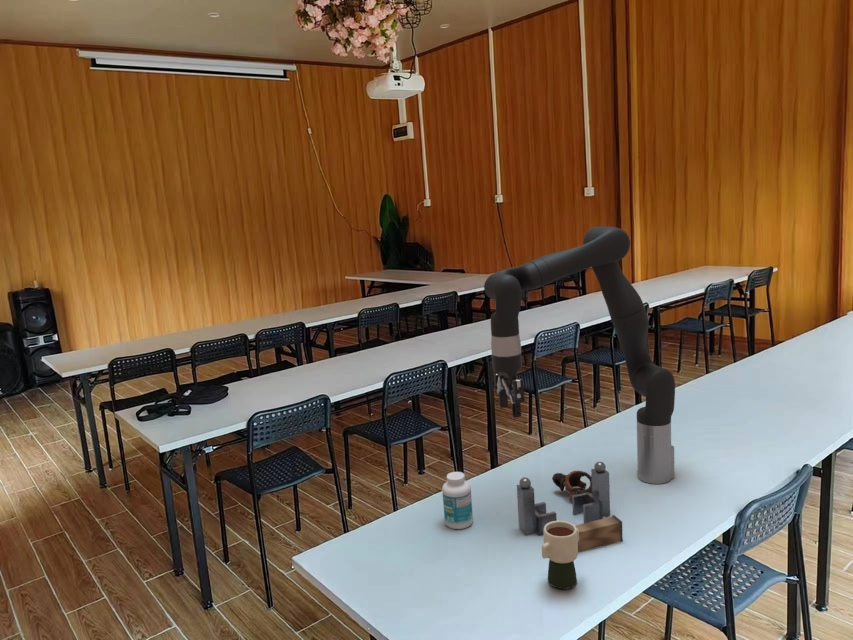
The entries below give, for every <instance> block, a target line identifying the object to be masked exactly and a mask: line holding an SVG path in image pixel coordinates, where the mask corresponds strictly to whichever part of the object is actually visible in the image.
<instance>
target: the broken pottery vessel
mask: <svg viewBox="0 0 853 640" xmlns="http://www.w3.org/2000/svg"><path fill="white" fill-rule="evenodd" d="M583 477H585V478H587V479H588V480H589V483H590V485H589V487H588V488H586V487H587V483H586V482H584V481H582V480H581V479H582V478H583ZM551 479H552V482H553V484H554V485H555V486H556V487H558V488H559V490H560V491H561V493H562V492H564V490H565V491H567V493H568V494H569V495H570V496H569V499H568V500H569V502H570V503H572V496H573V495H577V494H582V493H586V492H590V493H591V494H592V476H591V475H590V474H589V473H588V472H586V471H584V470H583V471H582V470H573V471H571V472H569V473H568V474H563V473H561V472H556V473H554V474H553V476H552V478H551ZM573 488H580V489H583V490H580V489H576V491H574V490H573Z"/></svg>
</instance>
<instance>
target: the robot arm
mask: <svg viewBox="0 0 853 640" xmlns="http://www.w3.org/2000/svg"><path fill="white" fill-rule="evenodd" d="M582 242H583V243H582V244H581V245H579V246H576V247H573V248H570V249H569V248H568V249H565V250H564V249H563V250H561V251H557V252H551V253H549V254H548V253H547V254H546V255H543V256H540V257H538V258H535V259H532V260H530V261H528V262H525V263H523V264H521V265H517V266H513V267H509V268H505V269H501V270H497V271H496V272H494V273H492V274H491V275H489V276H488V277H487V278H486V280H485V282H484V285H483V289H484V293H485V295H486V296H487V297H488V298H490V299H491V300H493V301H495V311H494V312H492V313H491V315H490V333H491V340H490V341H491V342H490V346H491V347H490V349H491V363H492V364H491V365H492V370H493V388H494V390H496V393H497V394H498V405H499V407H500V408H501V409H505V408H507V407H509V401H508V400H509V399H510V403H511V416H512V418H514V419H515V418H517V419H518V418H521V417H522V406H521V405H522V404H521V403H525V400H526V399H525V387H524V380H523V378H518V377H519V376H517V375H518V374H517V373H518V372H519V371H521V370H522V368H523V360H522V359H523V357H522V343H521V338H520V336H521V335H520V325H519V324H520V323H519V315H520V309H521V302H522V297H523V296H522V292H523V291H532V290H536V289H538V288H542V287H544V286H546V285H549V284H551V283H553V282H556V281H557V280H560V279H563V278H565V277H568V276H571V275H573V274H576V273H579V272H581V271H584V270H588V269H590V268H592V270H593V273H594V275H595V278H596V279H597V282H598V284H599V287H600V290H601V293H602V296H603V298H604V301H605V304H606V307H607V311H608V313H609V317H610V320H611V323H612V325H613V328H614V331H615V333H616V335H617V338H618V342H619V345H620V348H621V349H622V353H623V355H624V361H625V366H626V369H627V374H628V379H629V382H630V384H631V387H632V388H633V390H634V391H635V392H636V393H638V394H640V395H642V396H644V397H645V406H642V407H639V408H638V410H637V411H636V444H637V445H636V448H637V449H636V450H637V451H636V455H637V459H636V461H637V465H636V466H637V469H636V470H637V478H638V479H639V480H640V481H641V482H644V483H648V484H652V485H654V484H655V485H661V484H666V483H668V482H671V480H672V479H675V477H676V476H675V446H674V445H673V444H672V415H673V413H674V411H675V403H676V402H675V400H676V397H675V396H676V382H675V381H676V380H675V377H674V374H673V373H672V371H670V370H669V369H667V368H666V367H662V366H659V365H656V364H655V363H654V362H653V360H652V358H651V354H650V353H649V349H648V347H647V340H648V339H647V338H648V332H649V327H650V326H649V324H650V322H649V318H648V314H647V312H646V308H645V305H644V302H643V300H642V298H641V295H640V294H639V293H638V291H637V290H636V288H635V287H634V286H633V285H632V283H631V282H630V280H628V278H627V277H626V276H625V274H624V273H623V271H622V268H621V267H620V264H619V261H621V260H622V259H624V258H625V257H626V256H627V255H628V253H629V251H630V247H631V240H630V237H629V234H628V233H627V232H626V231H625V230H623V229H622V228H619V227H616V226H602V225H600V226H594V227H591V228H589V229H588V230H587V231H586V233H585V234H584V236H583V241H582ZM508 397H509V399H508Z"/></svg>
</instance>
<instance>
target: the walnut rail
mask: <svg viewBox="0 0 853 640" xmlns="http://www.w3.org/2000/svg"><path fill="white" fill-rule="evenodd" d="M574 525H575V524H574ZM575 526H576V528H578V530H579V541H578V553H580V552H581V553H582V552H584V551H590V550H593V549H597V548H600V547H604V546H609V545H612V544H617V543H622V542H623V521H622V520H621V519H620V518H619V517H617V516H616V515H615V514H613V515H611V516H607V517H606V518H605V517H603V519H600V520H596V521H592V522H587V523H584V522H583V523H580V524H576V525H575Z"/></svg>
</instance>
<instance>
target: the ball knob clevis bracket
mask: <svg viewBox="0 0 853 640" xmlns="http://www.w3.org/2000/svg"><path fill="white" fill-rule="evenodd" d="M606 466H607V465H606V463H604V462H603V461H596V462H595V463H594V467H593V468H591V473H590V474H591V475H590V476H591V477H592V494H591V493H590V492H586V493H582V494H577V495H573V496H572V502H571V503H572V514H573V515H574V516H576V515H581V514H583V515H582V516H583V517H582V518H583V523H587V522H592V521H596V520H600V519H604V518H605V517H606V518H607V517H611V499H610V498H611V497H610V496H611V495H610V494H611V493H610V489H611V488H610V472H609V471H608V470H606V469H607V468H606ZM531 484H532V481H531V480H530V478H528V477H524V476H523V477H522V478H521V479H519V484H517V485H516V493H517V494H516V495H517V496H516V497H517V498H516V499H517V512H518V514H517V515H518V529H519V530H520V532H521V533H522V534H523V535H524V536H526V537H527V536H529V535H535V534H536V535H537V536H538V537H539V536H544V532H543V530H544V526H545V525H546V524H547V523H549V522H552V521H558V520H557V519H558V518H557V513H556V511H551V512H547V503H546V502H545V501H542V502H538V503H535V502H536V501H535V499H536V498H535V488H534V487H533V486H532V485H531Z"/></svg>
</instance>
